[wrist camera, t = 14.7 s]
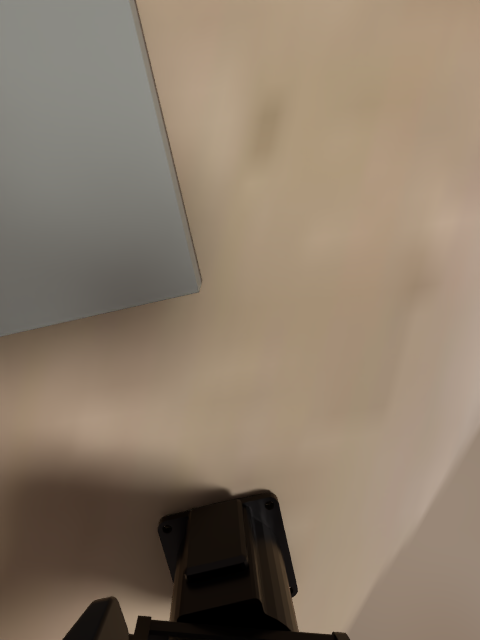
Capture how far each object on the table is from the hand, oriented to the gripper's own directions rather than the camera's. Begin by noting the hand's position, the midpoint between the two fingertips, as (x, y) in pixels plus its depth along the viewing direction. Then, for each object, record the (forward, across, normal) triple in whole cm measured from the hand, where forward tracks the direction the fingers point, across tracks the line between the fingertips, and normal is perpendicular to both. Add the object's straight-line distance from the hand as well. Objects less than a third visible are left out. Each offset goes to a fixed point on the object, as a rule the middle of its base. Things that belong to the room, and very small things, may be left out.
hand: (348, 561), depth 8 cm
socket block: (+13, +9, -10) cm, 19 cm away
